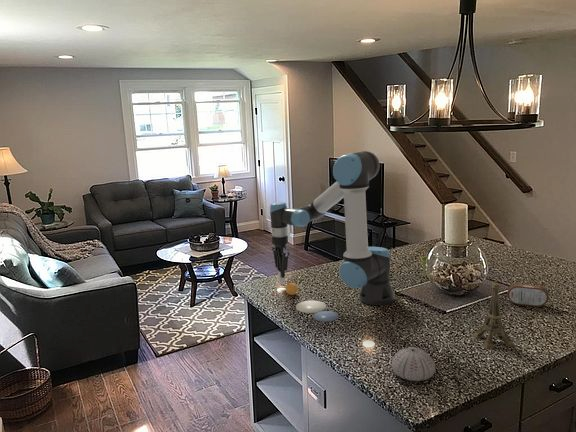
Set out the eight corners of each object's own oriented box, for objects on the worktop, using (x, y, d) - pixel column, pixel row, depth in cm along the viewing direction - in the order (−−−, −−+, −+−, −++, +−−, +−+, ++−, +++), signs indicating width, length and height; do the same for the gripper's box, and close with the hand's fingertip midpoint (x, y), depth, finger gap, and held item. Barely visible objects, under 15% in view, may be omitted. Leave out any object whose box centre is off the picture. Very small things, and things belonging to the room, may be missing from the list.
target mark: (329, 302, 206) (329, 301, 206) (321, 314, 194) (321, 313, 194) (301, 299, 211) (301, 299, 211) (291, 311, 199) (291, 310, 199)
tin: (547, 305, 192) (549, 285, 190) (548, 308, 189) (549, 288, 187) (506, 301, 198) (507, 282, 196) (506, 304, 195) (507, 284, 193)
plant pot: (441, 279, 227) (441, 262, 225) (421, 279, 229) (421, 261, 227) (439, 272, 236) (439, 256, 234) (419, 272, 238) (419, 256, 236)
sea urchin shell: (386, 364, 154) (386, 341, 152) (427, 361, 155) (427, 338, 153) (397, 387, 141) (397, 362, 139) (442, 383, 142) (443, 358, 140)
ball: (299, 293, 219) (299, 281, 218) (295, 297, 214) (295, 285, 213) (288, 292, 221) (287, 280, 220) (284, 296, 216) (283, 284, 215)
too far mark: (341, 312, 195) (341, 312, 195) (334, 322, 186) (334, 322, 186) (317, 310, 199) (317, 309, 199) (310, 320, 189) (310, 319, 189)
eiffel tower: (471, 335, 170) (473, 268, 165) (500, 332, 171) (503, 266, 166) (486, 349, 160) (488, 278, 155) (516, 346, 161) (519, 276, 156)
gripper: (266, 233, 224) (269, 281, 229) (278, 239, 213) (281, 289, 218) (280, 231, 228) (282, 277, 233) (293, 236, 216) (295, 285, 221)
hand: (282, 283), depth 225 cm, fingers closed
